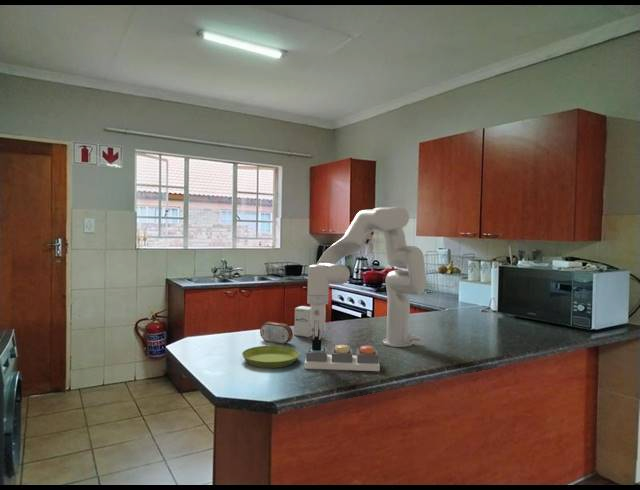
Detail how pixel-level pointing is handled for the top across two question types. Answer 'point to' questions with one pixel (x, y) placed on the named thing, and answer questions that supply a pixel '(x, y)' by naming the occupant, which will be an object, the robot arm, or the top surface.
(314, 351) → the teal button
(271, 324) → the tin
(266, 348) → the saucer
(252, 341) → the top surface
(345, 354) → the button panel
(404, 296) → the robot arm
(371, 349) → the brick button
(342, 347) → the ochre button
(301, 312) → the supplement box
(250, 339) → the top surface
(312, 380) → the top surface
